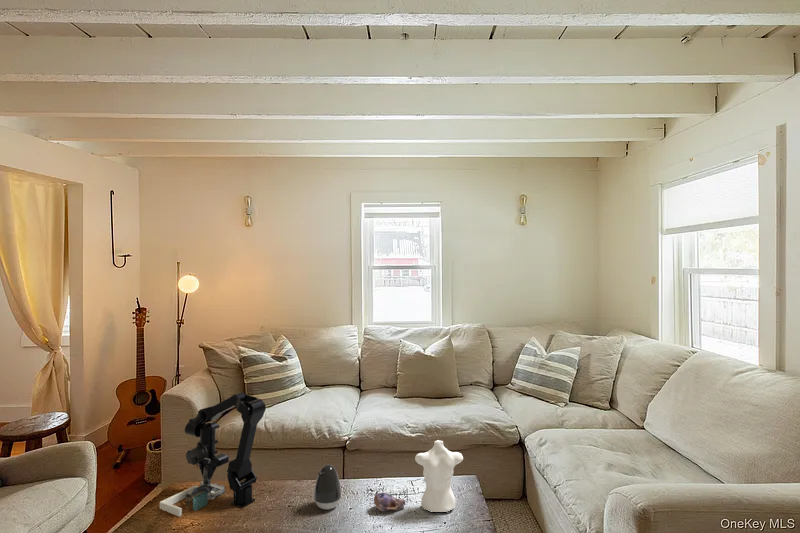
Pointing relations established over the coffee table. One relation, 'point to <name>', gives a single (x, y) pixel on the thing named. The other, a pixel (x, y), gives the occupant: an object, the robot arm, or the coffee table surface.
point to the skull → (387, 502)
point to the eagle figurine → (196, 493)
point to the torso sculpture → (438, 477)
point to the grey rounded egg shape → (327, 488)
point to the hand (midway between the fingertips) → (207, 478)
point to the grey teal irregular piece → (202, 498)
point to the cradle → (217, 490)
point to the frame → (168, 502)
